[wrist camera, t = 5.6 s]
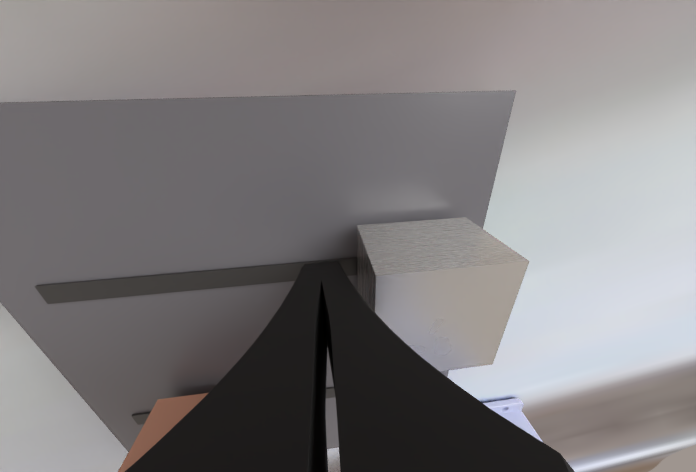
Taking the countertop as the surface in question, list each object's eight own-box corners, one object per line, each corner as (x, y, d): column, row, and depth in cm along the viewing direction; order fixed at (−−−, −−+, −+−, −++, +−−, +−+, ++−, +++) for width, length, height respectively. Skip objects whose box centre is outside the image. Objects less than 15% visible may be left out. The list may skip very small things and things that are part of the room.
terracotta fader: (247, 387, 12) (227, 468, 9) (262, 432, 13) (250, 511, 11) (157, 399, 11) (109, 487, 9) (185, 444, 13) (152, 528, 10)
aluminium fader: (465, 217, 9) (529, 261, 6) (448, 302, 11) (492, 364, 8) (357, 225, 9) (375, 275, 6) (357, 311, 10) (372, 380, 8)
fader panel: (486, 93, 9) (518, 90, 8) (425, 408, 18) (434, 433, 17) (-80, 107, 7) (-175, 106, 6) (163, 447, 16) (149, 479, 15)
